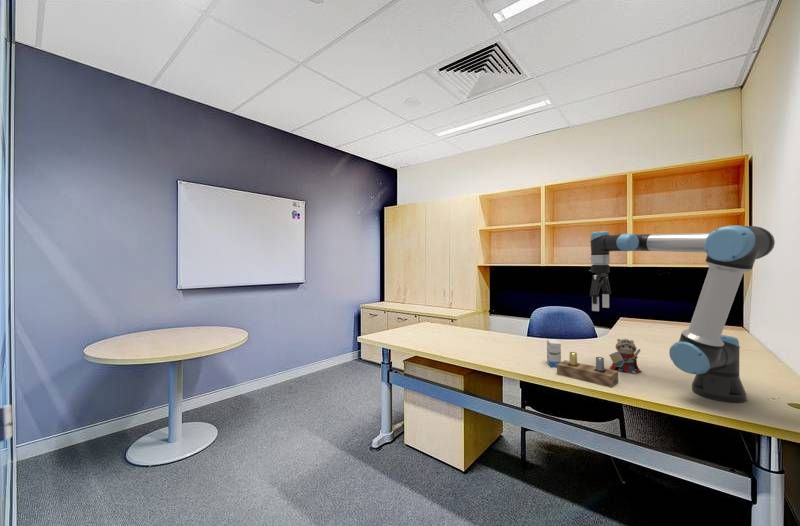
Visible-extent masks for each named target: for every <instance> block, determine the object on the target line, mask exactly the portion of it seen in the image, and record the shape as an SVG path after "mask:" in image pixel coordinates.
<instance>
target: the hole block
mask: <svg viewBox="0 0 800 526" xmlns="http://www.w3.org/2000/svg"><path fill="white" fill-rule="evenodd" d="M556 374H557V375H559V376H564V377H568V378H572V379H574V380H575V379H576V380H581V381H585V382H589V383H592V384H596V385H600V386H603V387H604V386H605V387H609V388H612V387H613V386H616V385H617V383H619V370H616V369H614V370H612V369H610V368H605V367H604V373H602V372H597V371H596V365H592V364H591V365H590V364H585V363H580V362H577V367H574V366H570V360H563V361H561V363H559V364H557V367H556Z"/></svg>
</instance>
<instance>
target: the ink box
mask: <svg viewBox="0 0 800 526" xmlns="http://www.w3.org/2000/svg"><path fill="white" fill-rule="evenodd" d="M561 347H562V345H561V342H559V341H558V340H557V339H546V362H547V363H548V365H549V367H551V368H557V364H559V363H561V362H562V352H561V351H562V349H561Z"/></svg>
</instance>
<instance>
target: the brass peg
mask: <svg viewBox="0 0 800 526" xmlns="http://www.w3.org/2000/svg"><path fill="white" fill-rule="evenodd" d="M569 361H570V366H574V367H577V363H578V352H576V351H575V352H574V351H570V352H569Z"/></svg>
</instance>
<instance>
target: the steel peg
mask: <svg viewBox="0 0 800 526" xmlns="http://www.w3.org/2000/svg"><path fill="white" fill-rule="evenodd" d="M595 366H596V371H597V372H602V373H604V368H605V358H604V357H602V356H596V357H595Z"/></svg>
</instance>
